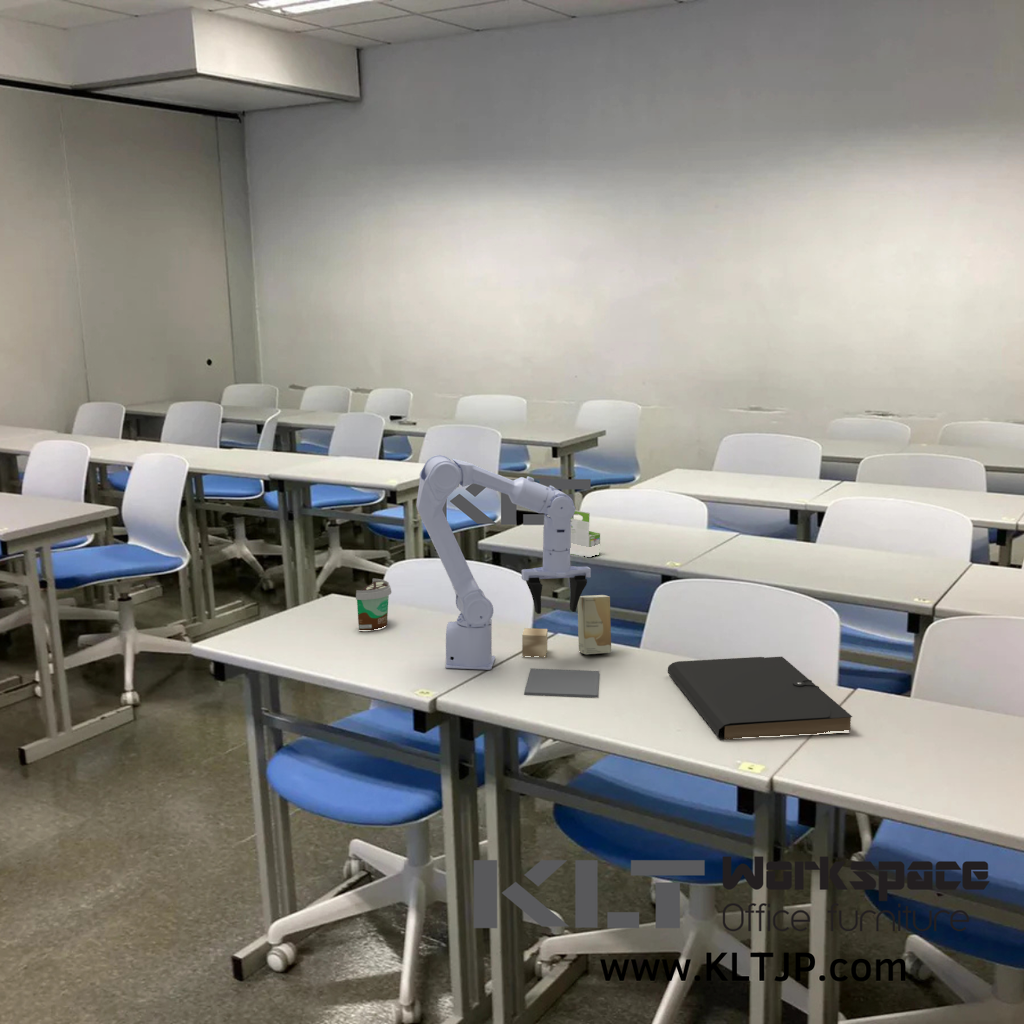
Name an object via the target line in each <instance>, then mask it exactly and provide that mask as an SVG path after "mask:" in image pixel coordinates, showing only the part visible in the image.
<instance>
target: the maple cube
mask: <svg viewBox="0 0 1024 1024" xmlns="http://www.w3.org/2000/svg"><path fill="white" fill-rule="evenodd" d="M548 631H549V630H548V628H532V627H531V628H528V627H527V628H526V627H524V629H523V631H522V634H521V636H522V638H521V639H522V640H521V642H522V645H521V648H522V649H521V654H522V655H521V656H523V657H522V658H526V657H525V656H531V657H534V656H539V657H544V656H546V657H547V654H548ZM546 653H547V654H546Z"/></svg>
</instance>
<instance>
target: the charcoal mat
mask: <svg viewBox="0 0 1024 1024" xmlns="http://www.w3.org/2000/svg"><path fill="white" fill-rule="evenodd" d="M599 681H600V671H599V670H589V669H588V670H587V669H586V670H584V669H583V670H581V669H557V668H535V667H534V668H532V667H531V668H529V673H528V677H527V679H526V685H525V687H524V688H525V689H524V692H523V695H524V696H543V695H545V696H547V697H548V696H549V697H571V698H592V697H598V696H599V684H598V683H600V682H599ZM598 698H599V697H598Z"/></svg>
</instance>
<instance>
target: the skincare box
mask: <svg viewBox="0 0 1024 1024" xmlns="http://www.w3.org/2000/svg"><path fill="white" fill-rule="evenodd" d="M577 629H578V630H577V632H578V633H577V634H578V635H577V637H578V642H577V643H578V652H579V651H580V652H581V654H584V655H596V654H597V655H598V654H610V653H612V630H611V629H612V626H611V596H608V595H605V594H598V595H597V594H595V595H594V594H593V595H581V596H580V598H579V601H578V604H577ZM580 652H579V653H580Z"/></svg>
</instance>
